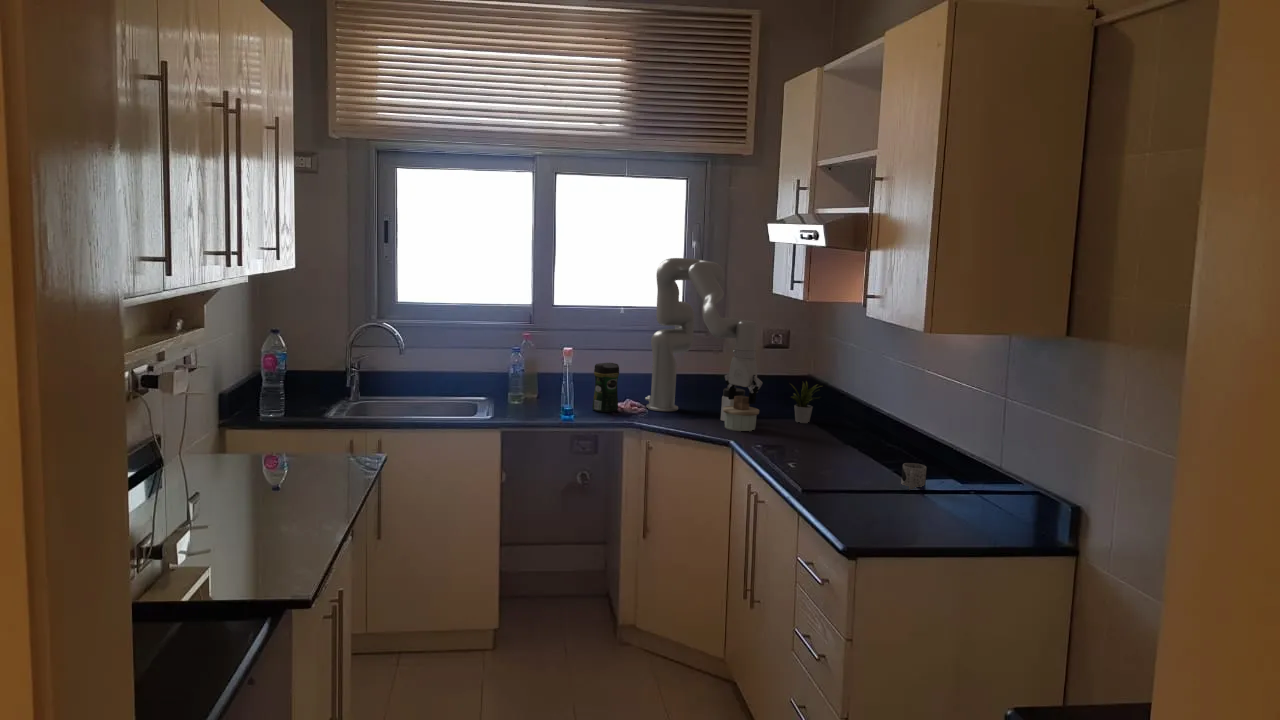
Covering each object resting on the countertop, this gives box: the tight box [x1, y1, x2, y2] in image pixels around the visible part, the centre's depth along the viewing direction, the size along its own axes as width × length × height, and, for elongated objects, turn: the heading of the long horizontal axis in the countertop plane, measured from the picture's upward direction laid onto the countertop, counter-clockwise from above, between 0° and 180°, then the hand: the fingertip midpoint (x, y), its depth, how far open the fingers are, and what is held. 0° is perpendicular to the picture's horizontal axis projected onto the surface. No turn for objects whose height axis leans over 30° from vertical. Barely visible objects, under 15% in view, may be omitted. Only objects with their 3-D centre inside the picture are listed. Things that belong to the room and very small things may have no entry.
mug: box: [900, 462, 928, 489], centre depth 282 cm, size 10×7×7 cm
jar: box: [720, 387, 746, 422], centre depth 371 cm, size 9×8×12 cm
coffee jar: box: [592, 362, 620, 413], centre depth 377 cm, size 10×8×19 cm
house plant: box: [790, 380, 822, 424], centre depth 376 cm, size 14×14×16 cm
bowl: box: [724, 413, 757, 432], centre depth 358 cm, size 11×11×6 cm
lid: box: [723, 395, 760, 416], centre depth 357 cm, size 13×13×6 cm
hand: (741, 401), depth 357 cm, fingers open, 9 cm apart
